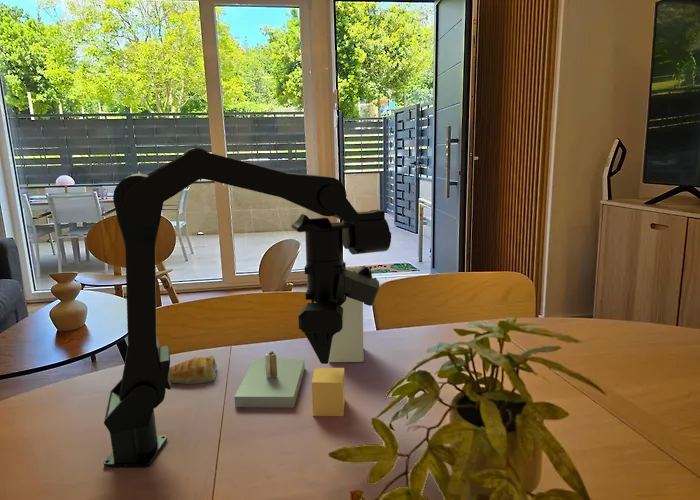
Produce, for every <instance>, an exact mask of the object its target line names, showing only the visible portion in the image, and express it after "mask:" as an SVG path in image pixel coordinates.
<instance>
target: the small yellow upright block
mask: <svg viewBox="0 0 700 500" xmlns="http://www.w3.org/2000/svg"><path fill="white" fill-rule="evenodd" d="M345 381H346V379H345V367H315V368H314V371H313V374H312V379H311V399H312V400H311V401H312V402H311V403H312V416H313V417H344V415H345V404H346V397H345V396H346V392H345V391H346V389H345V386H346V384H345V383H346V382H345Z"/></svg>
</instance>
